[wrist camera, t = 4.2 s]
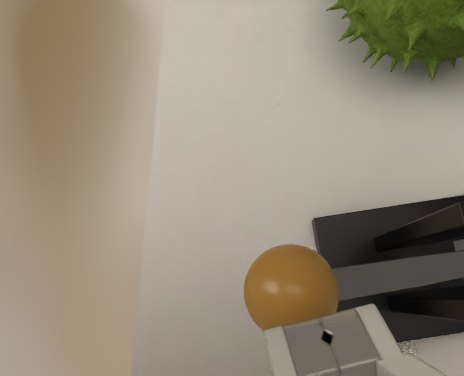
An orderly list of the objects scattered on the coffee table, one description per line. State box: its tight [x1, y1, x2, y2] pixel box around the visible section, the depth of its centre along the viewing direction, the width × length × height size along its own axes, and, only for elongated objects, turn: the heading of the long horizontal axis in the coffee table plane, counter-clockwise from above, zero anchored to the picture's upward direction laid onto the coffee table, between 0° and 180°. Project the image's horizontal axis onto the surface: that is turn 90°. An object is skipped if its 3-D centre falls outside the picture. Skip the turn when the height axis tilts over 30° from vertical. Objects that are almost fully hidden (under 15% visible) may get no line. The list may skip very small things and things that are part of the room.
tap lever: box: [244, 238, 464, 330], centre depth 17 cm, size 14×3×3 cm, turn 98°
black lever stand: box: [312, 195, 464, 342], centre depth 24 cm, size 12×9×14 cm
